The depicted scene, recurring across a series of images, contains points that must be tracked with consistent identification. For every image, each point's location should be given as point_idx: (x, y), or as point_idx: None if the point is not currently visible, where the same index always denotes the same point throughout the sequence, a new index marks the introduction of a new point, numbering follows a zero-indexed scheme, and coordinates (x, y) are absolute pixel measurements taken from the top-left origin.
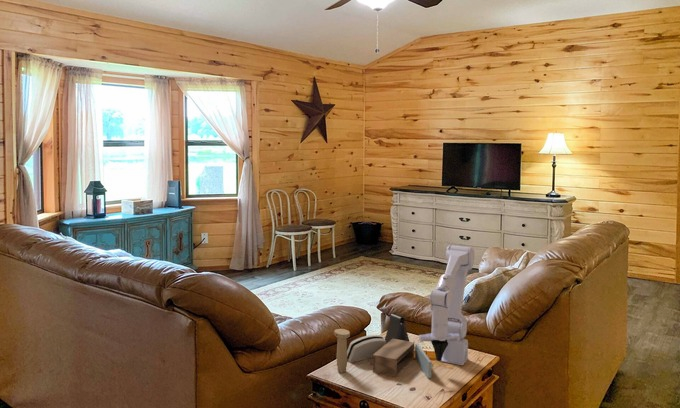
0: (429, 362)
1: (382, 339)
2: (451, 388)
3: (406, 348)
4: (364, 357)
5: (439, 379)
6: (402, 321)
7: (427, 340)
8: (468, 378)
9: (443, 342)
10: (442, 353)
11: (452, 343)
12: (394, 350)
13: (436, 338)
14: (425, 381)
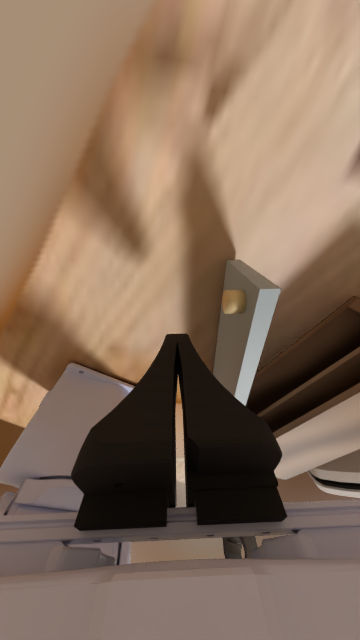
0: (273, 287)
1: (333, 476)
2: (154, 113)
3: (292, 432)
4: None
5: (187, 254)
6: (228, 543)
7: (341, 510)
8: (46, 252)
9: (139, 479)
10: (159, 362)
11: (76, 458)
12: (355, 421)
13: (322, 627)
14: (259, 239)
